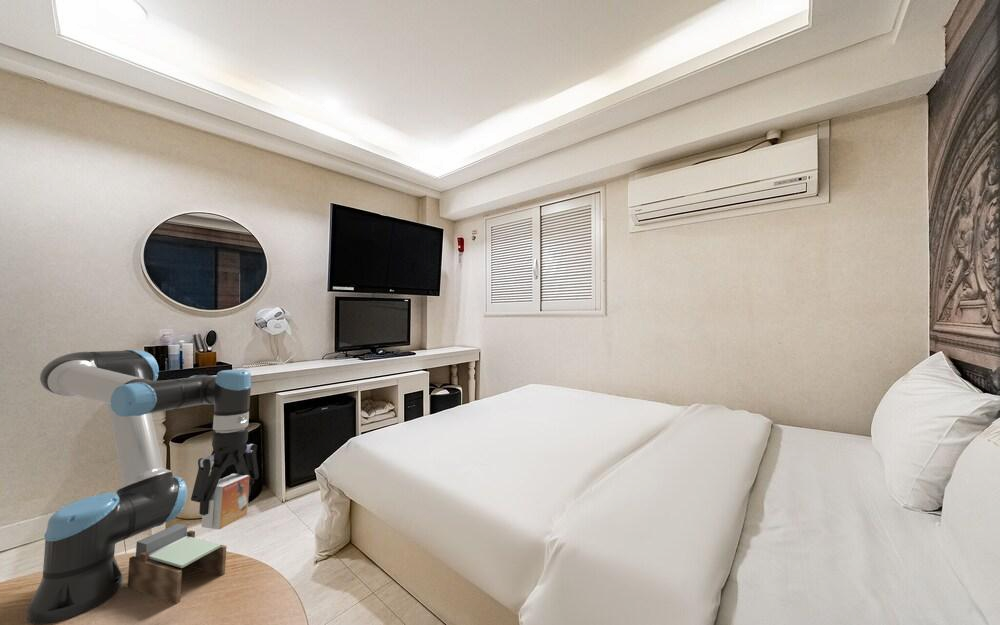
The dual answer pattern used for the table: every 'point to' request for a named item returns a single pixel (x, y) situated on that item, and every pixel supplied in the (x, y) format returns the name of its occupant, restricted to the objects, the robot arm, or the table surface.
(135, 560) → the trapdoor frame
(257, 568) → the table surface
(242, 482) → the small box
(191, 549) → the trapdoor
